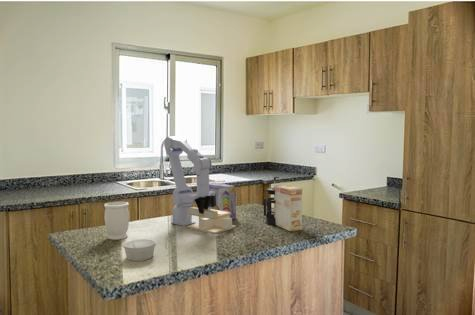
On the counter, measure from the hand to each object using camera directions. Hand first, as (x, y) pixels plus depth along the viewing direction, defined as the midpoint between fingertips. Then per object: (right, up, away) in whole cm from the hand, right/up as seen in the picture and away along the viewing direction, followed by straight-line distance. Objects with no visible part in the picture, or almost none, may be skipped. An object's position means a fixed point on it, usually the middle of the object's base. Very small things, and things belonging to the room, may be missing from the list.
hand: (203, 212), depth 182 cm
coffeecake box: (+40, -8, +5) cm, 41 cm away
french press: (+34, -7, +13) cm, 37 cm away
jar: (-36, -9, -11) cm, 39 cm away
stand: (+3, -8, +5) cm, 10 cm away
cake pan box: (+7, -6, +27) cm, 29 cm away
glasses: (+3, -1, +4) cm, 5 cm away
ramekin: (-20, -11, -37) cm, 44 cm away
